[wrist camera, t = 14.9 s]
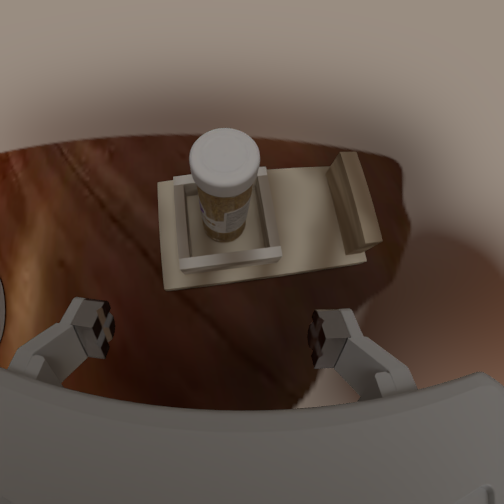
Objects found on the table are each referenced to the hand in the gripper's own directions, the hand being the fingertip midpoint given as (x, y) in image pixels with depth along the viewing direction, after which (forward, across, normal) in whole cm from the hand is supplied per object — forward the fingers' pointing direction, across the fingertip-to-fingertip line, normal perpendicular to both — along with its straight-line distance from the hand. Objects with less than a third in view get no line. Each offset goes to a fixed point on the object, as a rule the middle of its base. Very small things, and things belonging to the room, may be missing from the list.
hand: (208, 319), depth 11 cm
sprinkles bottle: (+20, 0, +6) cm, 20 cm away
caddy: (+21, -4, +6) cm, 22 cm away
